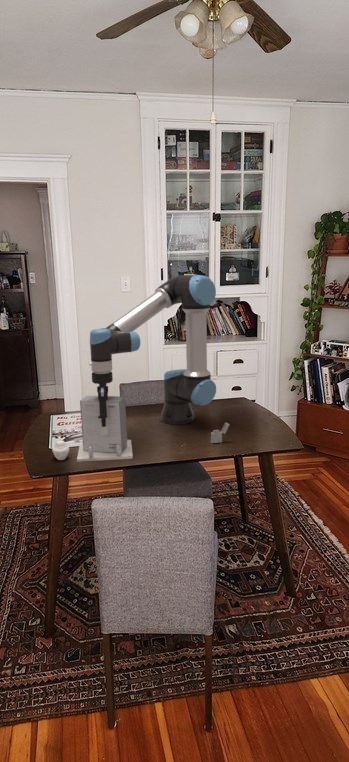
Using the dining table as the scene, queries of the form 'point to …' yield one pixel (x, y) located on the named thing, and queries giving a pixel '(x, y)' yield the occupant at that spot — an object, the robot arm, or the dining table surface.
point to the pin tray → (104, 453)
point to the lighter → (218, 434)
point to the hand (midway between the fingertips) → (104, 430)
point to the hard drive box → (92, 424)
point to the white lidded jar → (60, 450)
